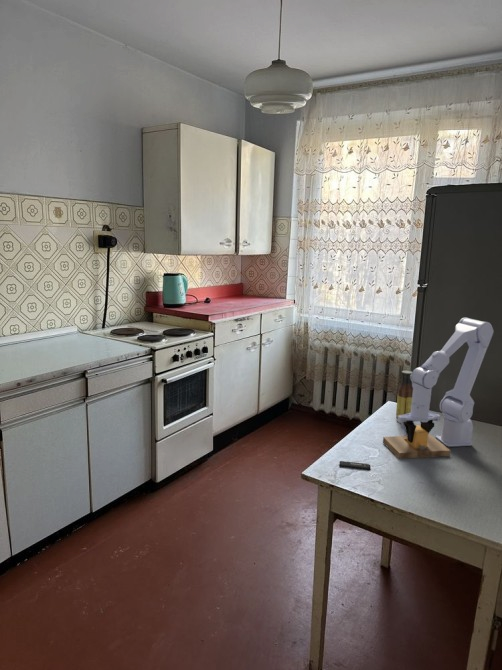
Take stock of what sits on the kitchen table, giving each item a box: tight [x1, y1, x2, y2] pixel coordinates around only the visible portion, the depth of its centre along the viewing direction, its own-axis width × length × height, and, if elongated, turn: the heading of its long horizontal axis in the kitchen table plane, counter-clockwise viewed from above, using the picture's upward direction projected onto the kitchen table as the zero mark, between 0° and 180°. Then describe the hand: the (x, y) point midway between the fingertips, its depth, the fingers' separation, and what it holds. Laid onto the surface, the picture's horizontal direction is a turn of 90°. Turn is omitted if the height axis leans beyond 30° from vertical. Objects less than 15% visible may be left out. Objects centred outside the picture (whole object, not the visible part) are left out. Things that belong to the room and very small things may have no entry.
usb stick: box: [339, 460, 371, 471], centre depth 143 cm, size 10×3×2 cm, turn 79°
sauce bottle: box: [395, 370, 413, 419], centre depth 179 cm, size 6×6×20 cm
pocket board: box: [382, 434, 451, 460], centre depth 156 cm, size 18×12×2 cm, turn 99°
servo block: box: [406, 424, 429, 450], centre depth 155 cm, size 4×9×6 cm, turn 9°
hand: (416, 441), depth 156 cm, fingers closed on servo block, 4 cm apart
